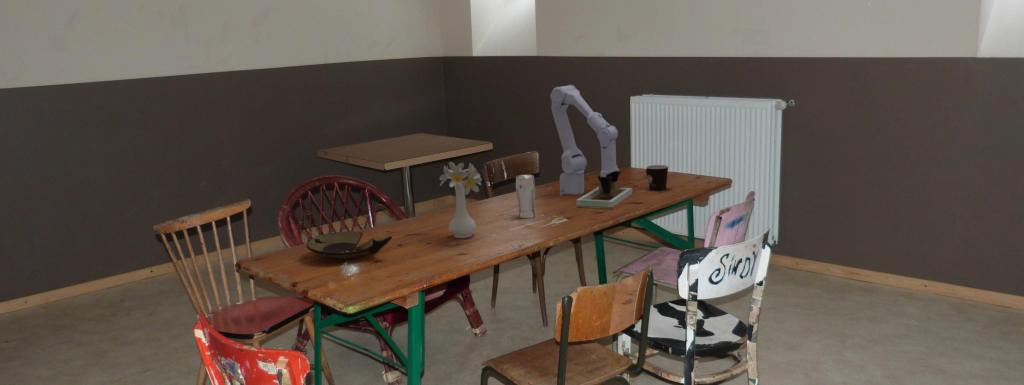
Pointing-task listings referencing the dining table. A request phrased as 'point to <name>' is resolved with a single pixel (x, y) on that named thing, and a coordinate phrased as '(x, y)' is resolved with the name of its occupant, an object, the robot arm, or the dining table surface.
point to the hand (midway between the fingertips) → (609, 191)
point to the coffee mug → (657, 177)
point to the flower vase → (461, 197)
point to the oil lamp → (345, 245)
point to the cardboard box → (613, 190)
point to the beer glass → (525, 195)
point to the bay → (587, 200)
